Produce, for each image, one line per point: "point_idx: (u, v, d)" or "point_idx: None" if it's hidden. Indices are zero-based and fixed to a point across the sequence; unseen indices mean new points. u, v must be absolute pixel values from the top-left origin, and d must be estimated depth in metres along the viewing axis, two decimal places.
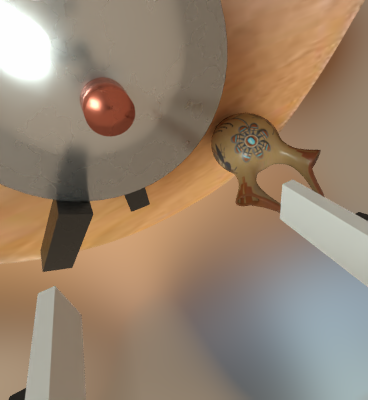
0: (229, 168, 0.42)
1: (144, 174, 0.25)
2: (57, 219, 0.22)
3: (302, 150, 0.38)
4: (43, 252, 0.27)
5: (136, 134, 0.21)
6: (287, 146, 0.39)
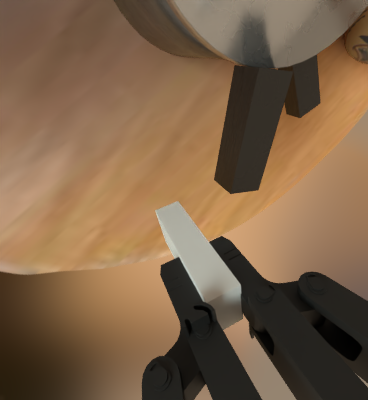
0: None
1: (339, 10, 0.18)
2: (256, 80, 0.16)
3: None
4: (223, 171, 0.21)
5: None
6: None
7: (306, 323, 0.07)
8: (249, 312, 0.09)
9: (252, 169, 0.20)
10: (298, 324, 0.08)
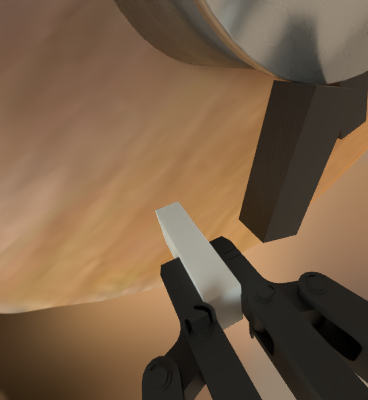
0: None
1: None
2: (310, 102, 0.12)
3: None
4: (253, 212, 0.17)
5: None
6: None
7: (306, 323, 0.07)
8: (249, 312, 0.09)
9: (292, 212, 0.16)
10: (298, 324, 0.08)
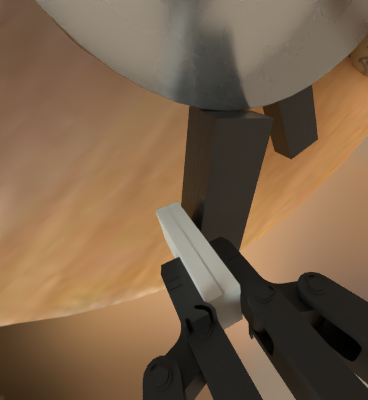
0: None
1: (344, 21, 0.12)
2: (215, 136, 0.11)
3: None
4: None
5: None
6: None
7: (306, 323, 0.07)
8: (249, 312, 0.09)
9: None
10: (298, 324, 0.08)
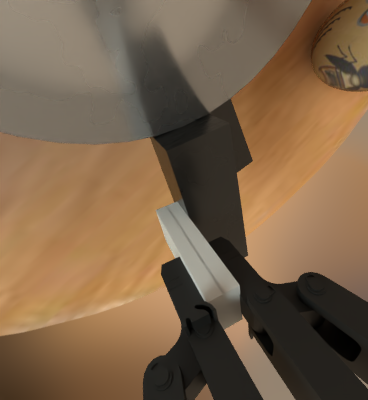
0: None
1: None
2: (172, 165, 0.10)
3: None
4: None
5: None
6: None
7: (305, 324, 0.07)
8: (248, 313, 0.09)
9: None
10: (297, 325, 0.08)
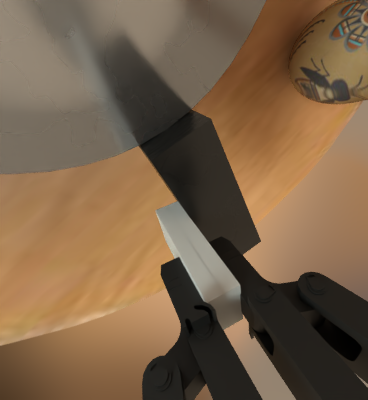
0: (344, 91, 0.22)
1: None
2: (160, 173, 0.10)
3: None
4: None
5: None
6: None
7: (306, 323, 0.07)
8: (249, 312, 0.09)
9: (236, 235, 0.15)
10: (298, 324, 0.08)
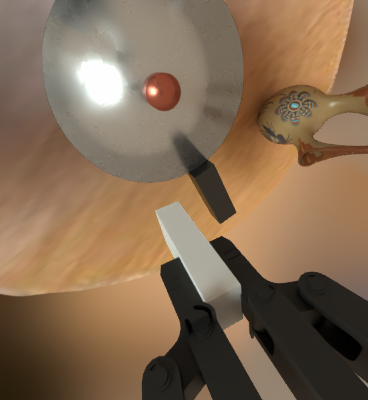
0: (283, 139, 0.43)
1: (225, 112, 0.30)
2: (197, 182, 0.31)
3: (352, 91, 0.37)
4: (211, 212, 0.37)
5: (193, 90, 0.27)
6: (334, 95, 0.39)
7: (306, 323, 0.07)
8: (249, 312, 0.09)
9: (224, 208, 0.35)
10: (298, 324, 0.08)
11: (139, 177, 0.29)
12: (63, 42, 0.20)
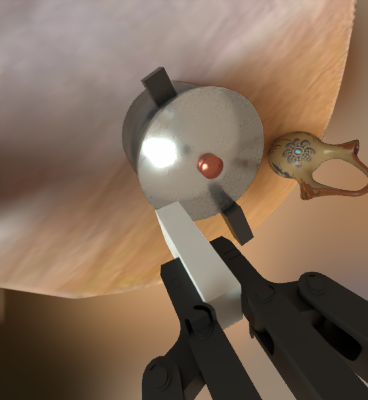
0: (288, 176, 0.55)
1: (249, 170, 0.41)
2: (228, 219, 0.43)
3: (342, 144, 0.49)
4: (235, 237, 0.49)
5: (229, 160, 0.38)
6: (329, 145, 0.50)
7: (306, 323, 0.07)
8: (249, 312, 0.09)
9: (245, 235, 0.47)
10: (298, 324, 0.08)
11: None
12: (153, 144, 0.32)
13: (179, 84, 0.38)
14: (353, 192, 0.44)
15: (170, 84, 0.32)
